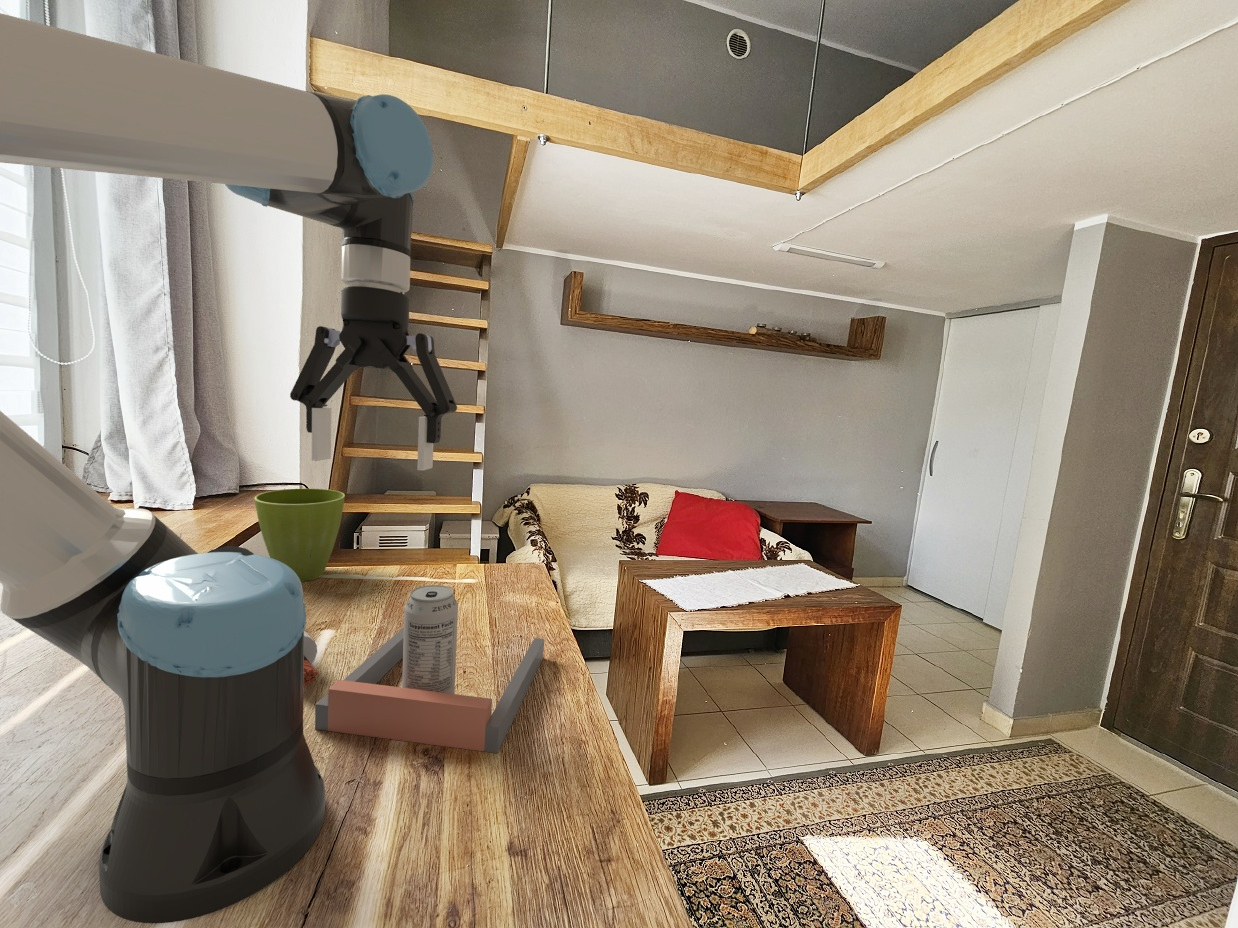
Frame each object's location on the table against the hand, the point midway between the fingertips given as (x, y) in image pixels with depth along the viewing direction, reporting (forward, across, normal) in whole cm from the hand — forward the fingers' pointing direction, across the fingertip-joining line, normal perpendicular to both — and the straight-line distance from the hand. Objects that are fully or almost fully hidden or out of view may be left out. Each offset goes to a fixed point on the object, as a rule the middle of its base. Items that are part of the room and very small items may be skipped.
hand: (372, 464), depth 68 cm
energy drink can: (+29, -10, +5) cm, 31 cm away
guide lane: (+29, -10, 0) cm, 31 cm away
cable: (+29, +19, -5) cm, 35 cm away
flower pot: (+29, +32, -32) cm, 54 cm away
